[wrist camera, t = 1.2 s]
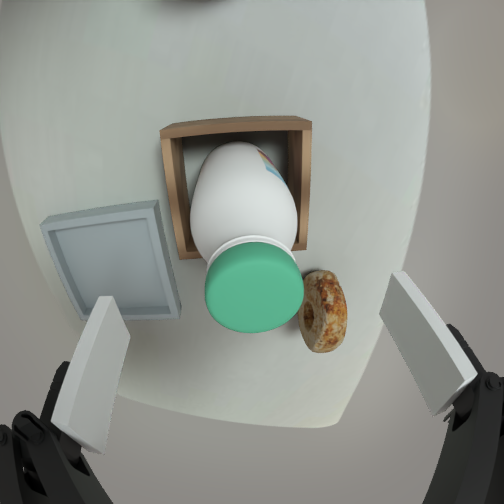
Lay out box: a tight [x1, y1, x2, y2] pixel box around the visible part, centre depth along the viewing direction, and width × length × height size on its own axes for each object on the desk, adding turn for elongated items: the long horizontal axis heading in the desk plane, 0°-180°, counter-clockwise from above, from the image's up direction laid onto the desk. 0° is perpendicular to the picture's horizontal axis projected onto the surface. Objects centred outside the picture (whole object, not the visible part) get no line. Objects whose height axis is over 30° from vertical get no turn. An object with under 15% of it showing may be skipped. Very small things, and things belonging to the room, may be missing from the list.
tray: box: [40, 200, 181, 320], centre depth 33 cm, size 16×16×2 cm
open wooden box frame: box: [160, 116, 312, 260], centre depth 27 cm, size 13×13×6 cm
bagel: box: [298, 270, 347, 353], centre depth 34 cm, size 10×4×10 cm, turn 176°
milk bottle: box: [190, 141, 304, 333], centre depth 21 cm, size 8×8×20 cm
